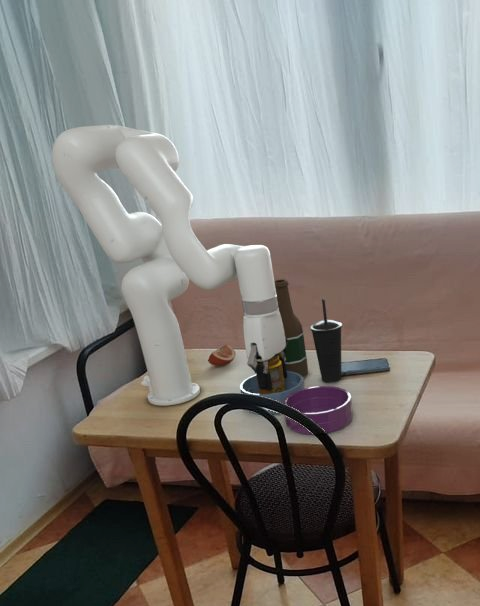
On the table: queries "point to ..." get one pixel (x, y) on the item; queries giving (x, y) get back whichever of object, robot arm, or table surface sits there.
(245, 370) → the table surface
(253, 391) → the slate bowl
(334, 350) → the drinking cup
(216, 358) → the fruit slice
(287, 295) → the beer bottle
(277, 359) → the condiment
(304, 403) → the plum bowl
